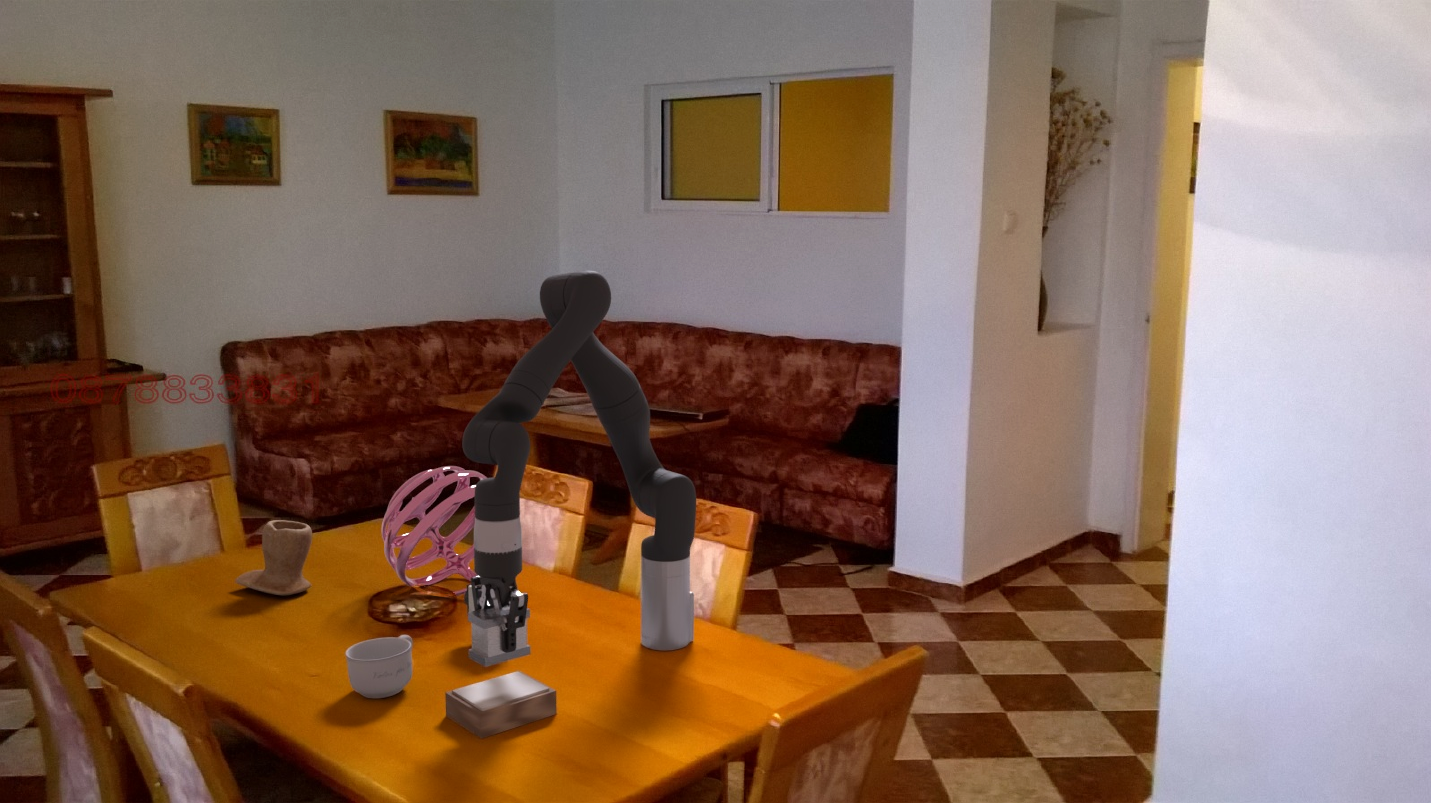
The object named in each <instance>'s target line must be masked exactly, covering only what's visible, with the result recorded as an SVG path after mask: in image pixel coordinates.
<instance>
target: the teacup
mask: <svg viewBox="0 0 1431 803" xmlns="http://www.w3.org/2000/svg"><path fill="white" fill-rule="evenodd" d="M413 645H414V643H413V639H412V637H411V636H410V635H408V634H401V635H400V636H398V637H393V636H391V637H389V636H388V637H378V638H373V639H367V640H363V641H360V642H358V643H357V642H356V643H355V644H353V645H352V646H349V647H348V648H347V649H346V650H345V653H344V655H345V658H346V664H347V665H346V666H347V675H348V679H349V683H350V684H349V685H350V686H351V688H352V689H353V690H354V691H355V693H356V692H357V693H358V694H360V695H362V696H363V697H365V698H368V699H382V698H383V699H384V698H388V697H391V696H395V695H396V694H399V693H400V692H401V691H402V690H403V689H404V688H405V687H406V686H407V685H408V684H409V683H410V681H411V680H412V676H413V657H412V651H413V648H414V647H413Z"/></svg>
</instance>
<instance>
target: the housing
mask: <svg viewBox="0 0 1431 803" xmlns="http://www.w3.org/2000/svg"><path fill="white" fill-rule="evenodd" d="M508 609H510V606H509V607H505V608H502V610H508ZM508 618H509V614H508V615H506V619H507V622H508ZM517 618H518V620H519V616H517ZM530 618H531V609H530V608H528V607H527V612H526V620H525V626H524V627H521V628H517V629H516V650H515V651H512V652H508V653H505V652H503V651H502V630H503V629H502V626H501V617H499V616H497V615H496V611H495V607H492V608H488V609H480V610H476V611H471V612H468V616H467V621H468V622H470V623H471V648H469V649H468V658H469V659H470V660H472V661H474V662H475V663H477V664H479V665H481V666H483V667H484V668H487V667H490V666H494V665H497V664H501V663H504V662H508V661H511V660H515V659H519V658H522V657H526V656H529V655H531V645H530V644H528V619H530Z"/></svg>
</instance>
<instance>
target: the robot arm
mask: <svg viewBox="0 0 1431 803" xmlns="http://www.w3.org/2000/svg"><path fill="white" fill-rule="evenodd" d="M611 302H612V291H611V288H610V285H609V282H608V281H607V279H606V277H604V276H603V274H601V273H600V272H598V271H595V270H581V271H580V270H579V271H578V270H577V271H572V272H565V273H558V274H553V275H551V276H548V277H546V278H545V279H544V280H543V282H542V283H541V285H540V290H539V303H540V306H541V309H542V313H543V315H544V317H545V319H546V322H547V323H548V325H549V327H550V328H551V330H550V331H549V332H548V333H547V334H546V335H545V336H544V337H543V338H541V339H540V340H539V341H538V342H537V343H536V344H534V346H532V347H531V348H530V349H528V351H527V352H525V354H524V355H522V357H521V358H520V359H518V361H517V362H516V364H515V365H514V367H513V368H512V370H511V371H510V373H509V375H508V376H507V378H506V380H505V382H504V383H503V385H502V386H501V389H500V391H499V392H498V393H497V394H496V395H495V396H493V398H491V399H490V400H489V401H488V402H487V403H486V404H485V405H484V406H483V407H482V408H481V409H479V411H478V412H477V413H476V414H475V415H474V416H473V417H472V418H471V419H470V421H469V422H468V424H467V426H466V427H465V429H464V432H463V435H462V440H461V441H462V442H461V443H462V444H461V445H462V450H463V453H464V455H465V456H466V458H467V459H469V460H470V461H471V462H474V463H478V464H479V463H480V464H486V465H492V466H493V465H495V466H497V470H496V474H495V476H494V477H487V479H483V480H478V482H477V483H476V484H475V485H476V486H475V497H474V506H475V524H474V527H473V544H474V558H473V565H474V566H473V567H474V569H473V572H474V573H476V575H478V576H475V577H471V582H470V584H471V587H472V594H473V602H474V609H475V611H476V610H480V609H488V608H492V607H495V611H496V615H497V616H499V617H501V626H502V629H503V630H502V651H503V652H505V653H508V652H512V651H515V650H516V629H517V628H521V627H524V626H525V620H526V612H527V608H528V604H529V594H528V593H527V592H523V593H521V592H520V591H519V590H518V585H517V580H516V578H517V577H518V575H519V574H521V573H522V571H523V532H522V531H523V530H522V522H521V501H520V499H521V498H520V495H521V494H520V493H521V492H520V491H521V489H522V488H521V487H522V483H523V479H524V476H525V470H526V466H527V462H528V459H529V456H530V451H531V450H530V449H531V439H530V435H529V434H528V431H527V429H526V428H525V427H524V425H522V424H523V423H528V422H531V421H533V420H534V419H535V418H536V417H537V415H538V414H539V412H540V410H541V408H542V407H543V405H544V403H545V401H546V400H547V398H548V396H549V395H550V392H551V390H552V389H553V386H555V383H556V382H557V380H558V378H559V377H560V375H561V374H562V372H563V371H564V369H565V368H566V367H567V365H568V364H569V363H570V362H571V363H572V365H573V367H574V369H575V371H576V373H577V375H578V377H579V379H580V381H581V383H582V385H583V387H584V388H585V392H586V394H587V395H588V398H589V400H590V403H591V405H592V407H593V409H594V411H595V413H596V415H597V418H598V420H599V422H600V424H601V426H602V427H603V429H604V431H605V433H606V436H607V438H608V441H609V442H610V444H611V446H612V449H613V451H614V453H615V454H616V456H617V459H618V460H619V463H620V466H621V469H622V471H623V475H624V478H625V480H626V483H627V486H628V489H629V493H630V496H631V497H632V501H633V502H634V504H635V507H636V508H637V509H638V511H640V512H641V513H643V514H644V515H646V517H650V518H653V519H654V520H655V521H654V531H653V532H654V534H652V535H649V536H647V537H644V538H643V539H642V541H641V543H640V546H641V547H640V571H641V573H640V590H641V591H640V610H641V611H640V643H641V645H642V646H644V648H648V649H651V650H654V651H655V650H657V651H675V650H679V649H682V648H683V649H684V647H687V646H688V645H689V644H690V642H693V641H694V634H695V633H694V632H695V630H694V628H695V626H694V624H695V622H694V621H695V620H694V619H695V616H694V614H695V611H694V610H695V609H694V608H695V603H694V602H695V594H694V592H693V591H691V547H692V545H693V542H694V539H695V532H696V519H697V518H696V515H697V493H696V487H695V485H694V483H693V481H692V480H691V479H690V478H689V477H688V476H686V475H684V474H681V473H677V472H673V471H670V470H667V469H666V468H664V466H663V465H662V464H661V462H660V460H659V458H658V457H657V454H656V453H655V452H656V451H654V447H653V445H652V443H651V440H650V428H651V426H650V425H651V410H650V407H649V403H648V400H647V398H646V395H645V392H644V391H643V388H642V387H641V385H640V382H639V380H638V378H637V377H636V375H635V374H634V372H633V371H632V370H631V369H630V367H628V365H626V364H625V363H624V362H623V361H622V360H620V358H618V357H617V356H616V355H615V354H613V352H612V351H610V350H609V349H608V348H607V347H606V346H605V345H604V344H603V343H602V342H601V341H600V339H598V338H597V336H596V334H595V333H594V331H595V330H596V329H597V328H598V326H599V325H600V324H601V323H602V322H603V321H604V319H605V317H606V315H607V314H608V312H609V310H610V308H611ZM480 598H481V601H479V599H480ZM509 606H510V609H508V610H502V608H505V607H509ZM508 614H509V618H508V622H507V619H506V615H508ZM517 616H519V620H518V618H517Z"/></svg>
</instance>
